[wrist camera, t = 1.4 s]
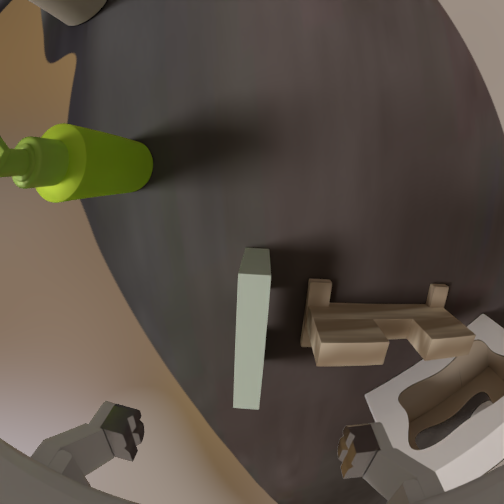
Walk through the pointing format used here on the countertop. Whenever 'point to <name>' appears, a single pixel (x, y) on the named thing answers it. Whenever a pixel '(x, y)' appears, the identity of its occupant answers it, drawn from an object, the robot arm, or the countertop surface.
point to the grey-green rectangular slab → (251, 326)
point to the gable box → (449, 408)
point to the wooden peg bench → (379, 328)
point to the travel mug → (71, 9)
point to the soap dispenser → (76, 163)
